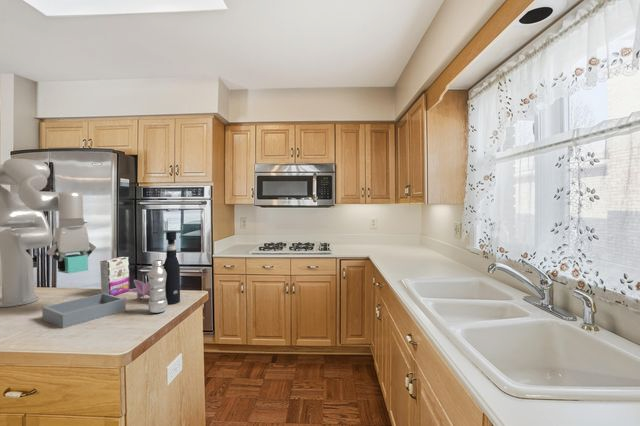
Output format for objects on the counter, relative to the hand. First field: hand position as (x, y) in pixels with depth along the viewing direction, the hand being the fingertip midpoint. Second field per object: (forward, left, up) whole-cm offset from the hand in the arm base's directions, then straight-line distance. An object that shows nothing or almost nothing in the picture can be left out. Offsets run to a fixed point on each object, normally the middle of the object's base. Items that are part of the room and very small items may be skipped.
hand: (73, 268), depth 118 cm
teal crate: (0, 0, -1) cm, 1 cm away
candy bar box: (-9, +20, -17) cm, 27 cm away
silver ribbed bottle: (+31, +15, -17) cm, 38 cm away
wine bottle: (+25, +25, -17) cm, 39 cm away
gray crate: (+10, 0, -16) cm, 19 cm away
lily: (+12, +21, -17) cm, 29 cm away
